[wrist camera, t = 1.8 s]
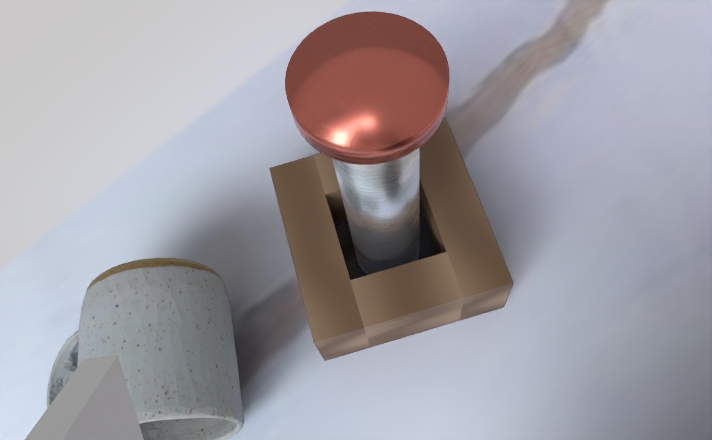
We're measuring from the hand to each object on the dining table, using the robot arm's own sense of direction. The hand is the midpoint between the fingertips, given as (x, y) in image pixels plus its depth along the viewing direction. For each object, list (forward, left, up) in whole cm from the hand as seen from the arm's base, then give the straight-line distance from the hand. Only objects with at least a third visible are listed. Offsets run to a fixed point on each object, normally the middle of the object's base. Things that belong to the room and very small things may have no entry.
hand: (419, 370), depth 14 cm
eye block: (+2, +11, -20) cm, 23 cm away
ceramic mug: (-12, +7, -20) cm, 25 cm away
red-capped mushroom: (+2, +11, -20) cm, 23 cm away
